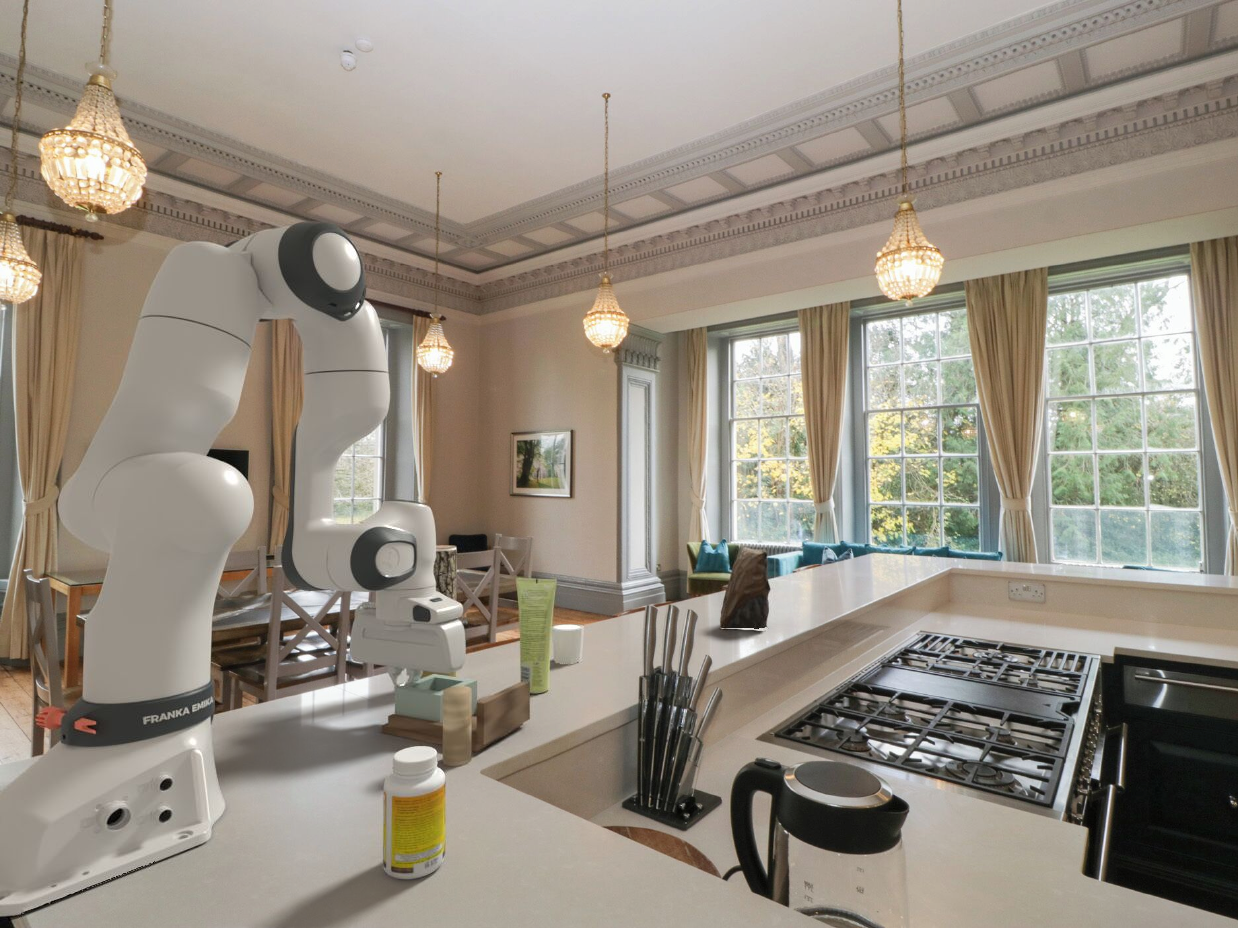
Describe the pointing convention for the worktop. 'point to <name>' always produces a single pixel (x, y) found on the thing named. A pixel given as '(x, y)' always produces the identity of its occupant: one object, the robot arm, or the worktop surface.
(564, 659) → the white short cylinder
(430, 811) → the supplement bottle
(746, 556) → the brown rock
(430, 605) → the robot arm
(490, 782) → the worktop surface
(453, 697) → the dowel
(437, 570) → the paper tube
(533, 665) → the tube
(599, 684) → the worktop surface
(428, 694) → the socket block
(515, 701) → the wooden tray
